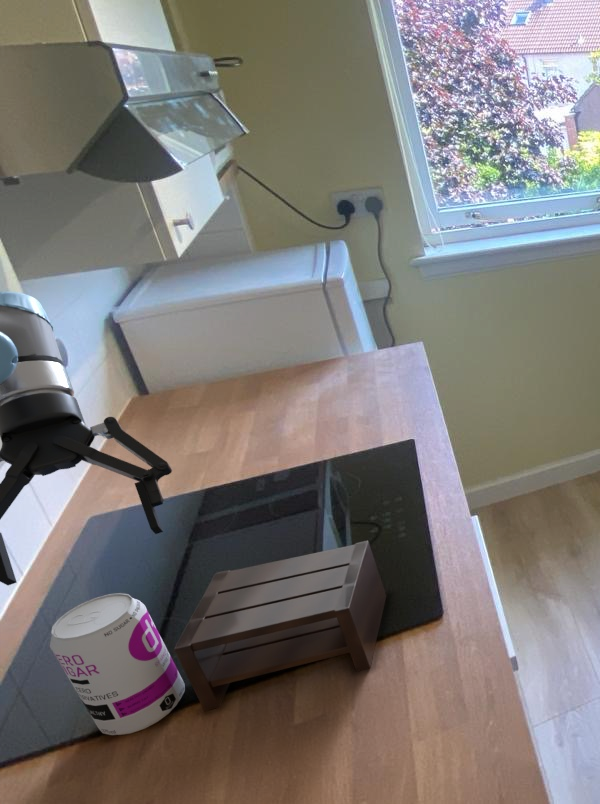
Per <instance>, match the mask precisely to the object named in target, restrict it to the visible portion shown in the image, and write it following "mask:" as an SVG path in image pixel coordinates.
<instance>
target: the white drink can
mask: <svg viewBox="0 0 600 804" xmlns="http://www.w3.org/2000/svg"><path fill="white" fill-rule="evenodd" d="M50 633H51V637H50V643H49V648H50V650H51V652H52V653H53V655H54V656H55V659H56V660H57V662H58V663H59V665H60V667H61V669H62V670H63V672H64V673H65V675H66V676H67V679H68V680H69V682H70V683H71V685H72V687H73V689H74V691H75V692H76V693H77V696H78V697H79V699H80V701H81V702H82V703H83V704H82V705H84V707H85V709H86V711H87V712H88V714H89V715H90V718H91V719H92V720H93V722H94V724H95V726H96V727H97V729H98V730H99V731H100V732H101V733H102V734H104V735H109V736H117V735H118V736H121V735H130V734H133V733H134V734H135V733H136V732H139V731H142V730H145V729H147V728H149V727H150V726H152V725H155V724H156V723H158V722H159V721H161V720H162V719H163V718H165V717H166V716H168V715H169V714H170V713H171V712H172V711H173V710H174V709H175V707H177V706H178V704H179V702H180V701H181V699H182V697H183V696H184V693H185V691H186V686H185V685H186V684H185V682H184V679H183V677H182V676H181V674H180V672H179V670H178V668H177V666H176V663H175V662H174V660H173V658H172V656H171V654H170V652H169V650H168V648H167V646H166V644H165V642H164V641H163V638H162V636H161V635H160V633H159V631H158V629H157V627H156V625H155V622H154V620H153V619H152V617H151V615H150V613H149V611H148V609H147V607H146V605H145V604H144V603H143V602H141V600H139V599H137V598H134V597H132V596H131V595H130V594H129V593H124V592H119V593H118V592H117V593H109V594H105V595H101V596H98V597H97V596H96V597H94V598H92V599H88V600H87V601H85V602H82V603H80V604H79V605H76V606H75V607H73V608H71V609H70V610H68V611H67V612H65V613H64V614H63V615H62V616H60V617H59V618H58V619H57V620H56V621H55V622H54V624H53V625H52V627H51V631H50Z"/></svg>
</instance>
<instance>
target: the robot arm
mask: <svg viewBox="0 0 600 804" xmlns="http://www.w3.org/2000/svg"><path fill="white" fill-rule="evenodd" d="M53 326H54V325H53V324H52V322H51V321H50V318H49V317H48V314H47V312H46V310H45V309H44V307H43V305H42V304H41V302H40V301H39V300H38V299H37V298H35V297H34V296H31V295H29V294H27V293H24V292H18V291H9V290H7V291H4V290H3V291H0V440H1V448H0V463H1V462H5V463H7V464H9V465H10V466H9V468H8V469H7V470H6V472H5V474H4V478H3V479H2V480H1V482H0V520H1V519H2V518H3V517H4V515H5V514H6V512H7V511H8V510H9V508H10V507H11V505H12V504H13V503H14V502H15V500H16V499H17V497H18V496H19V494H20V493H21V492H22V490H23V489H24V488H25V487H26V486H27V485H29V484H30V482H31V481H32V480H33V478H34V477H35V476H42V477H44V476H48V475H51V474H54V473H55V472H58V471H61V470H69V469H72V468H75V467H77V465H78V464H79V463H81V462H82V461H83V462H85V463H88V464H90V465H92V466H97V467H100V468H103V469H105V470H108V471H109V472H110V471H111V472H113V473H116V474H118V475H121V476H123V477H126V478H128V479H130V480H134V481H137V482H134V484H133V485H134V486H135V489H136V492H137V495H138V497H139V500H140V503H141V506H142V508H143V512H144V514H145V517H146V520H147V523H148V525H149V528H150V530H151V532H153V533H154V534H155V535H158V534H160V533H163V532H164V531H163V528H162V524H161V523H160V520H159V516H158V514H157V511H156V507H158V506H162V505H164V501H165V500H164V497H163V495H162V491H161V489H160V487H159V481H160V480H161V479H162V478H163V477H165V476H169V475H171V474H172V472H173V469H172V467H171V466H170V464H169V462H168V461H166V460H165V459H163V458H162V457H160V456H159V455H158V454H157V453H156V452H154V451H153V450H151V449H150V448H148V447H147V446H145V445H144V444H143V443H142V442H140V441H138V440H137V439H136V438H134V437H133V436H131V435H130V434H129V433H127V432H126V431H125V430H124V429H123V427H122V425H121V424H120V422H119V421H118V420H117V419H116V417H114V416H107V417H106V418H105V419H104V420H103V422H101V423H98V424H96V425H93V426H88V425H87V424H86V422H85V419H84V416H83V414H82V412H81V408H80V405H79V402H78V400H77V398H76V397H75V391H74V387H73V385H72V383H71V380H70V377H69V374H68V372H67V369H66V366H65V364H64V360H63V358H62V355H61V353H60V348H59V345H58V343H57V340H56V337H55V334H54V327H53ZM97 436H100V437H103V438H104V439H106V440H110V439H111V440H112V439H114V440H115V442H116V443H117V444H119V446H121V447H122V448H124V449H125V450H126V451H128V452H129V453H131V454H133V455H134V456H135V457H137V458H138V459H139V460H141V461H142V462H143V463H145V464H146V465H148V466H149V467H151V468H148V469H146V468H143V467H141V466H139V465H136V464H133V463H131V462H128V461H125V460H123V459H121V458H119V457H118V458H117V457H116V456H112V455H110V454H108V453H105V452H103V451H100V450H98V449H96V448H94V447H93V446H91V445H92V444H93V442H94V440H95V438H96V437H97ZM13 569H14V568H13V566H12V563H11V559H10V556H9V553H8V549H7V546H6V543H5V540H4V536H3V534H2V532H0V583H1V584H4V585H6V586H11V585H15V584H17V578H16V575H15V571H14V570H13Z"/></svg>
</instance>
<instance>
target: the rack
mask: <svg viewBox="0 0 600 804" xmlns="http://www.w3.org/2000/svg"><path fill="white" fill-rule="evenodd" d="M386 600H387V593H386V590H385V588H384V584H383V581H382V578H381V575H380V573H379V569H378V567H377V564H376V560H375V557H374V555H373V551H372V548H371V545H370V542H369V540H364V541H359V542H355V544H351V545H346V546H340V547H337V548H332V549H326V550H323V551H318V552H314V553H313V552H312V553H309V554H305V555H299V556H296V557H295V556H294V557H290V558H285V559H280V560H276V561H271V562H270V561H269V562H266V563H261V564H256V565H253V566H248V567H244V568H237V569H233V570H230V569H228V570H224V571H219V572H215V574H214V575H213V577H212V578H211V581H210V582H209V584H208V586H207V588H206V590H205V592H204V594H203V596H202V597H201V599H200V601H199V603H198V605H197V606H196V608H195V610H194V612H193V614H192V615H191V617H190V619H189V621H188V622H187V624H186V626H185V628H184V630H183V632H182V633H181V635H180V637H179V639H178V641H177V642H176V644H175V647H174V648H173V652H174V653H175V656H176V658H177V659H178V661H179V664H180V665H181V667H182V669H183V671H184V673H185V675H186V678H187V679H188V682H189V683H190V685H191V687H192V690H193V691H194V693H195V695H196V697H197V699H198V702H199V703H200V705H201V707H202V708H203V711H204V712H207V711H210V710H214V709H217V708H220V707H221V705H222V702H223V700H224V698H225V696H226V693H227V691H228V689H229V687H230V685H231V683H235V682H239V681H243V680H246V679H250V678H254V677H258V676H262V675H267V674H270V673H271V674H272V673H275V672H279V671H282V670H286V669H290V668H294V667H298V666H303V665H306V664H310V663H315V662H318V661H321V660H327V659H330V658H335V657H338V656H342V655H346V654H350V658H351V660H352V663H353V665H354V668H355V670H356V672H360V671H364V670H368V669H371V666H372V662H373V658H374V653H375V649H376V643H377V639H378V636H379V631H380V626H381V623H382V617H383V613H384V609H385V604H386Z"/></svg>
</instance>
